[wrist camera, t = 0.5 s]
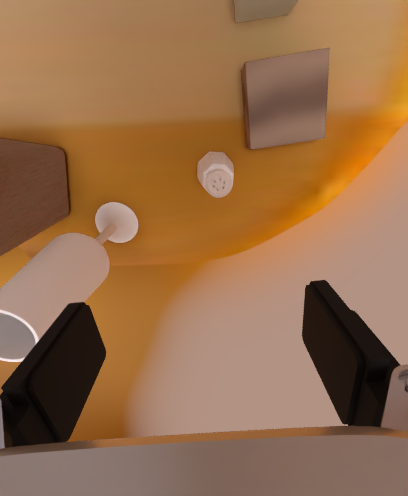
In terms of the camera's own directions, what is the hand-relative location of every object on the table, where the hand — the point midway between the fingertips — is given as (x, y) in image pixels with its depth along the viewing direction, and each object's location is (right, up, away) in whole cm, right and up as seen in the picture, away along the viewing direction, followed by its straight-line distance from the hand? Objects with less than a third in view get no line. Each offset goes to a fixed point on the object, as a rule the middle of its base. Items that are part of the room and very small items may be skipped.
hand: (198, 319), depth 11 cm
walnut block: (+10, +22, +22) cm, 32 cm away
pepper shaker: (+2, +14, +25) cm, 29 cm away
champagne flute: (-13, +7, +28) cm, 32 cm away
